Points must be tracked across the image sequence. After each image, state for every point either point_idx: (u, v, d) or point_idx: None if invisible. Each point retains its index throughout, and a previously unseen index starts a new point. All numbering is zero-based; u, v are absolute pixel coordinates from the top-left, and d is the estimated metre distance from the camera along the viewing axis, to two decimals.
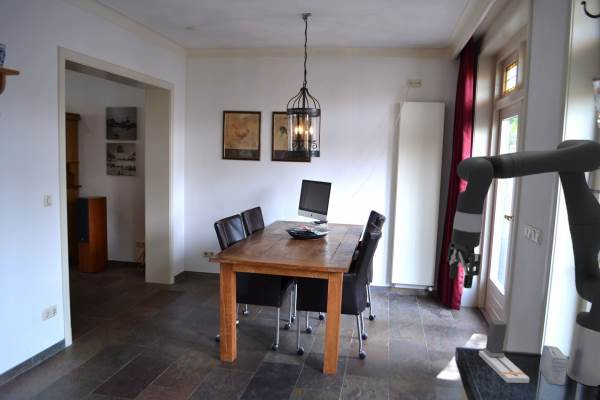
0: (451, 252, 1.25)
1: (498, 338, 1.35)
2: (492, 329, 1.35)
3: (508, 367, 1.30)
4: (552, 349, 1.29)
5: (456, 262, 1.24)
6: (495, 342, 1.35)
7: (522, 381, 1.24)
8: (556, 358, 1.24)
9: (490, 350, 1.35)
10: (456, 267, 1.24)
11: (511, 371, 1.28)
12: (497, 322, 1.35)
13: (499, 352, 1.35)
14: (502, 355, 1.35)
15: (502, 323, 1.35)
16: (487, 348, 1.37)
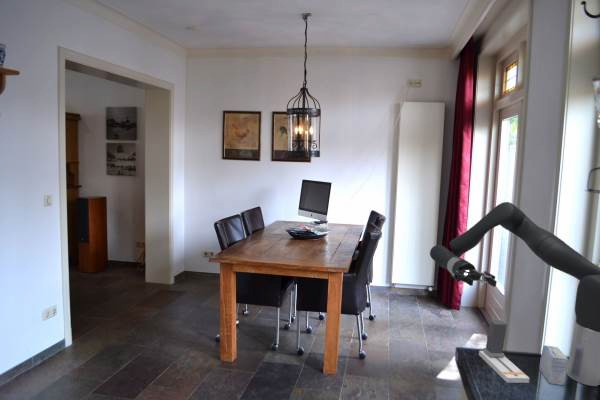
0: (487, 279, 1.53)
1: (498, 338, 1.35)
2: (492, 329, 1.35)
3: (508, 367, 1.30)
4: (552, 349, 1.29)
5: (487, 278, 1.50)
6: (495, 342, 1.35)
7: (522, 381, 1.24)
8: (556, 358, 1.24)
9: (490, 350, 1.35)
10: (489, 279, 1.49)
11: (511, 371, 1.28)
12: (497, 322, 1.35)
13: (499, 352, 1.35)
14: (502, 355, 1.35)
15: (502, 323, 1.35)
16: (487, 348, 1.37)
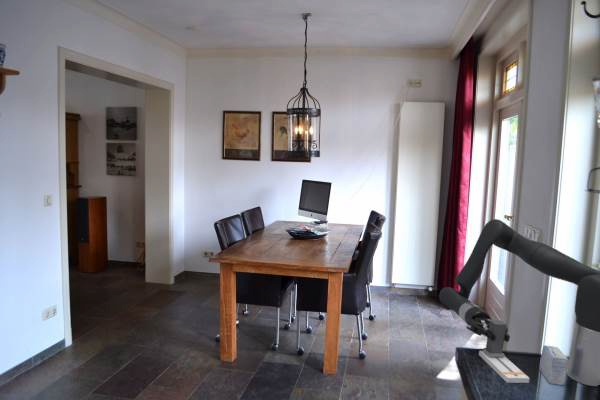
0: None
1: (498, 338, 1.35)
2: (492, 329, 1.35)
3: (508, 367, 1.30)
4: (552, 349, 1.29)
5: None
6: (495, 342, 1.35)
7: (522, 381, 1.24)
8: (556, 358, 1.24)
9: (490, 350, 1.35)
10: None
11: (511, 371, 1.28)
12: (497, 322, 1.35)
13: (499, 352, 1.35)
14: (502, 355, 1.35)
15: (502, 323, 1.35)
16: (487, 348, 1.37)
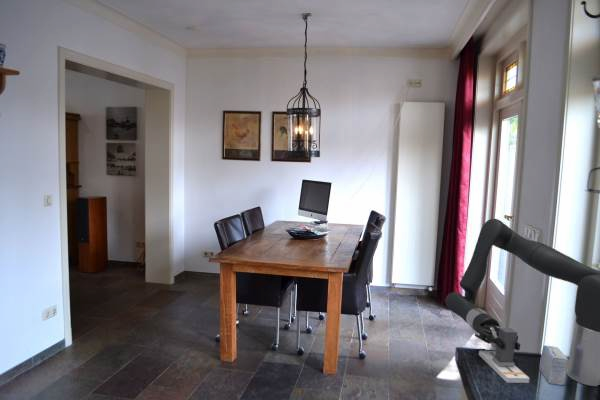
0: None
1: (508, 347, 1.29)
2: (502, 337, 1.30)
3: (508, 367, 1.30)
4: (552, 349, 1.29)
5: None
6: (505, 351, 1.29)
7: (522, 381, 1.24)
8: (556, 358, 1.24)
9: (500, 359, 1.30)
10: None
11: (511, 371, 1.28)
12: (507, 330, 1.30)
13: (509, 361, 1.30)
14: (512, 364, 1.30)
15: (512, 331, 1.29)
16: (497, 357, 1.32)
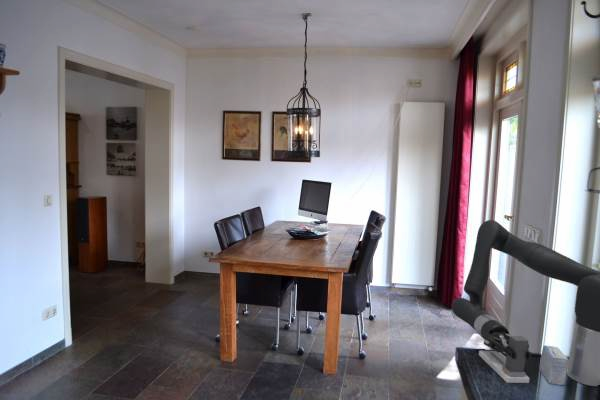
0: None
1: (519, 356, 1.24)
2: (513, 346, 1.24)
3: None
4: (552, 349, 1.29)
5: None
6: (516, 360, 1.24)
7: (522, 381, 1.24)
8: (556, 358, 1.24)
9: (510, 368, 1.25)
10: None
11: None
12: (517, 338, 1.25)
13: (520, 371, 1.25)
14: (523, 374, 1.24)
15: (523, 339, 1.24)
16: (507, 366, 1.26)
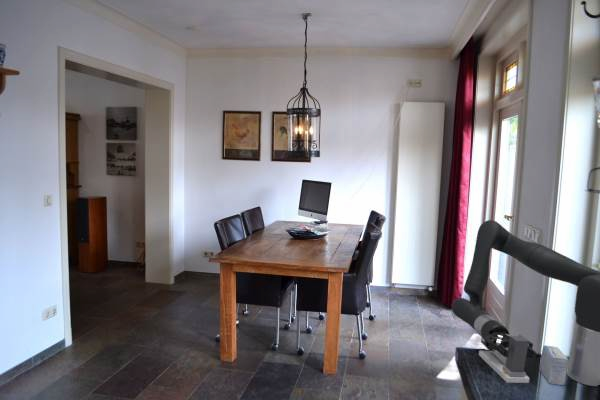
0: None
1: (519, 356, 1.24)
2: (513, 346, 1.24)
3: None
4: (552, 349, 1.29)
5: None
6: (516, 360, 1.24)
7: (522, 381, 1.24)
8: (556, 358, 1.24)
9: (510, 369, 1.25)
10: None
11: None
12: (518, 338, 1.25)
13: (520, 371, 1.25)
14: (523, 374, 1.24)
15: (523, 339, 1.24)
16: (507, 366, 1.26)
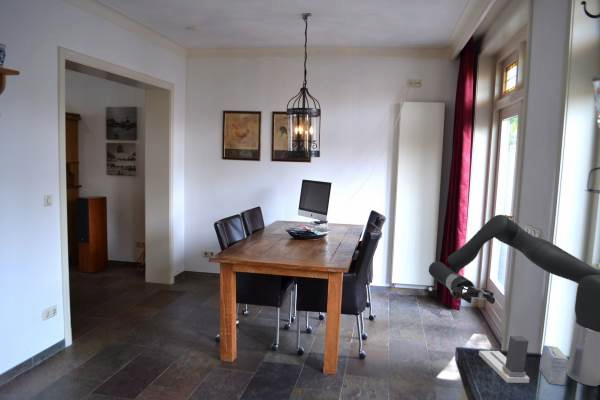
0: (485, 295, 1.54)
1: (519, 356, 1.24)
2: (513, 346, 1.24)
3: None
4: (552, 349, 1.29)
5: (486, 295, 1.51)
6: (516, 360, 1.24)
7: (522, 381, 1.24)
8: (556, 358, 1.24)
9: (510, 369, 1.25)
10: (487, 296, 1.49)
11: None
12: (518, 338, 1.25)
13: (520, 371, 1.25)
14: (523, 374, 1.24)
15: (523, 339, 1.24)
16: (507, 366, 1.26)
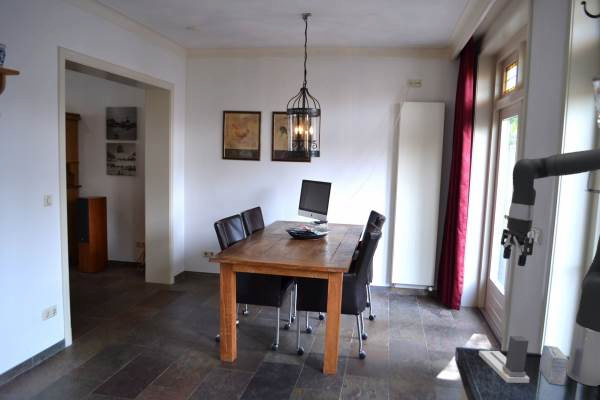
0: None
1: (519, 356, 1.24)
2: (513, 346, 1.24)
3: None
4: (552, 349, 1.29)
5: None
6: (516, 360, 1.24)
7: (522, 381, 1.24)
8: (556, 358, 1.24)
9: (510, 369, 1.25)
10: None
11: None
12: (518, 338, 1.25)
13: (520, 371, 1.25)
14: (523, 374, 1.24)
15: (523, 339, 1.24)
16: (507, 366, 1.26)
